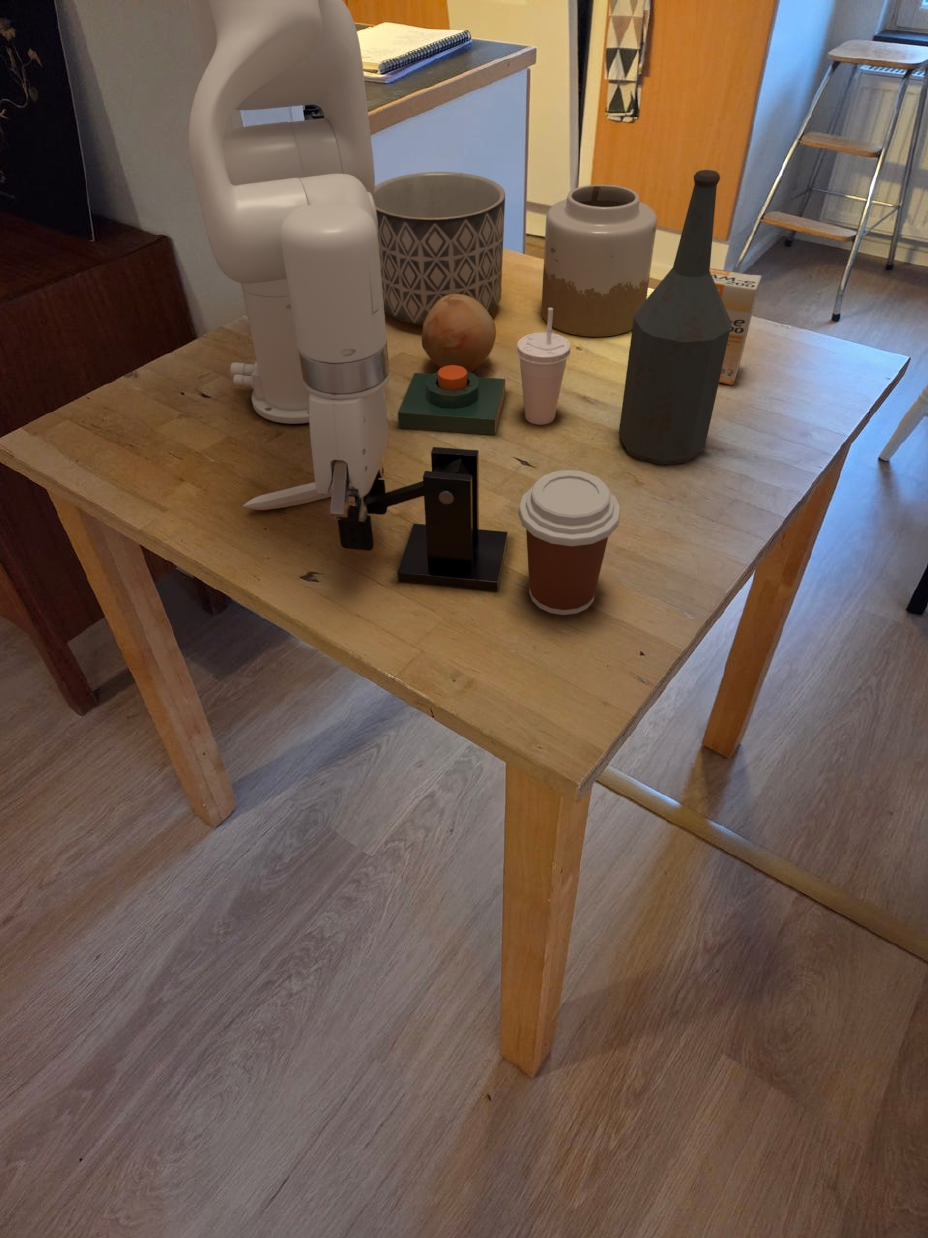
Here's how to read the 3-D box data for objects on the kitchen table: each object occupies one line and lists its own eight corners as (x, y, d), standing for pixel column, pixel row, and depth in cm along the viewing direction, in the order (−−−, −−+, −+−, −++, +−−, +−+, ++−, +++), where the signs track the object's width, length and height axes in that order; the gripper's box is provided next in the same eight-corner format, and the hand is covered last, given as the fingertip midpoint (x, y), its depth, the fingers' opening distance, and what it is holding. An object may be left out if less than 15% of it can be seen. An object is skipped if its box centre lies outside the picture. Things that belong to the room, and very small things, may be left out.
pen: (243, 511, 93) (240, 498, 92) (364, 480, 97) (363, 468, 96) (246, 519, 92) (243, 506, 91) (368, 488, 96) (367, 475, 95)
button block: (398, 428, 105) (396, 399, 102) (415, 387, 112) (413, 359, 109) (495, 435, 103) (495, 405, 100) (505, 394, 110) (505, 365, 108)
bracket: (397, 581, 84) (388, 483, 76) (414, 532, 90) (407, 435, 82) (497, 591, 83) (499, 492, 75) (507, 540, 89) (510, 443, 80)
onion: (507, 377, 113) (509, 304, 106) (438, 392, 111) (435, 318, 104) (479, 346, 120) (479, 275, 113) (413, 359, 117) (409, 288, 110)
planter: (504, 337, 122) (506, 217, 110) (371, 338, 122) (359, 219, 111) (502, 282, 136) (503, 170, 124) (382, 283, 136) (373, 172, 124)
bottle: (653, 411, 107) (695, 149, 86) (720, 441, 101) (782, 170, 81) (601, 444, 101) (633, 173, 81) (669, 477, 96) (721, 197, 75)
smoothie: (562, 432, 103) (570, 322, 94) (510, 427, 104) (513, 318, 95) (568, 406, 108) (576, 298, 98) (518, 401, 109) (522, 294, 99)
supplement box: (671, 376, 113) (688, 278, 104) (678, 360, 116) (695, 264, 107) (734, 387, 111) (756, 288, 102) (739, 370, 114) (762, 273, 105)
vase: (617, 347, 119) (632, 223, 107) (522, 322, 125) (527, 202, 113) (659, 306, 128) (677, 188, 117) (569, 285, 134) (578, 171, 123)
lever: (356, 534, 83) (343, 515, 81) (368, 503, 86) (356, 485, 85) (466, 500, 78) (454, 480, 76) (474, 470, 81) (463, 449, 80)
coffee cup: (559, 550, 87) (567, 450, 79) (628, 592, 83) (644, 492, 74) (496, 591, 83) (497, 491, 75) (565, 639, 78) (575, 537, 70)
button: (435, 391, 104) (435, 378, 103) (441, 376, 107) (440, 363, 105) (464, 393, 104) (464, 380, 102) (469, 378, 106) (469, 365, 105)
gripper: (329, 316, 79) (350, 478, 92) (271, 411, 67) (304, 581, 80) (407, 321, 78) (418, 483, 91) (363, 417, 66) (382, 589, 79)
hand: (364, 528), depth 85 cm, fingers open, 5 cm apart
